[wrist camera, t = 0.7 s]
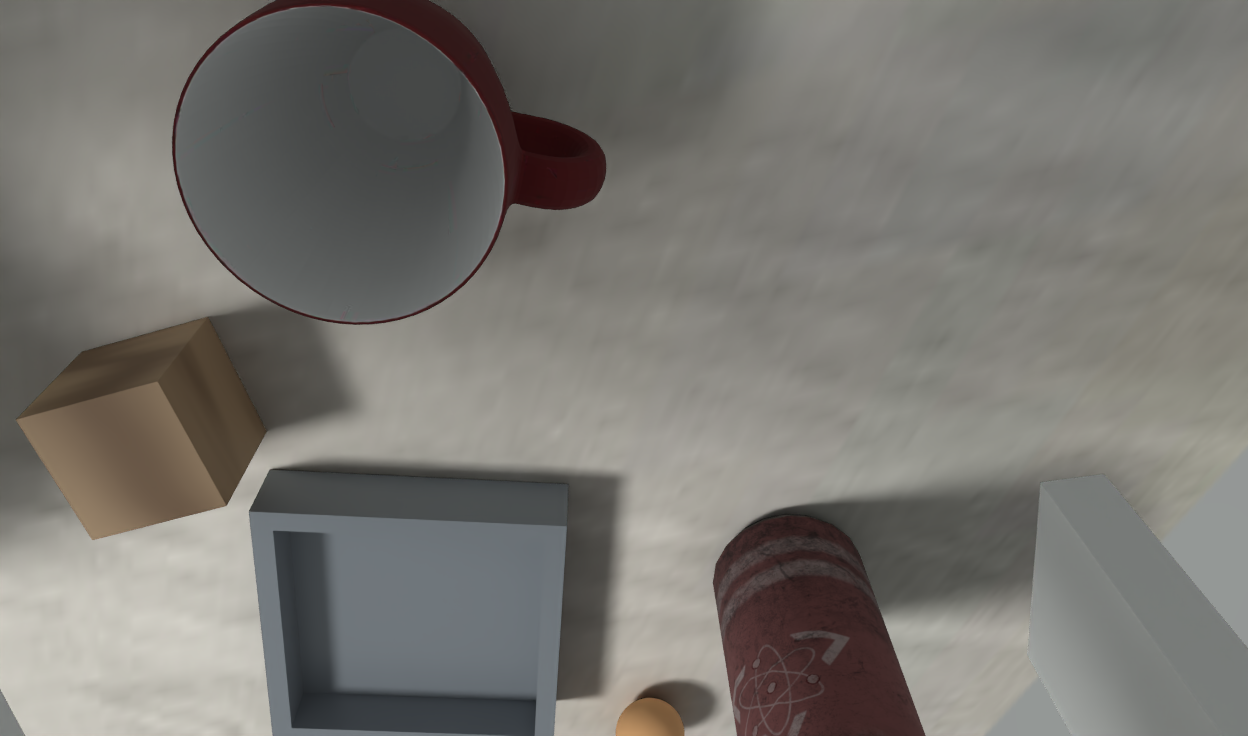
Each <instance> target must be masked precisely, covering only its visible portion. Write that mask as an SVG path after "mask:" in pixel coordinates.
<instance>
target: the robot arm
mask: <svg viewBox="0 0 1248 736" xmlns="http://www.w3.org/2000/svg"><path fill="white" fill-rule="evenodd" d="M1027 655H1028V657H1029V659H1030V661H1031V663H1032V665H1033V666H1034V668H1035V670H1036V672H1037V674H1038V675H1039V677H1040V679H1041V681H1042V682H1043V684H1044V686H1045V688H1046V690H1047V691H1048V693H1049V695H1050V697H1051V699H1052V701H1053V702H1054V704H1055V706H1056V708H1057V710H1058V711H1059V713H1060V715H1061V717H1062V719H1063V720H1064V722H1065V724H1066V726H1067V728H1068V729H1069V731H1070V733H1071V735H1072V736H1248V648H1247V646H1246V645H1245V644H1244V643H1243V642H1242V640H1241V639H1240V638H1239V637H1238V635H1237V634H1236V633H1235V632H1234V631H1233V630H1232V628H1231V627H1230V626H1229V625H1228V623H1227V622H1226V621H1225V620H1224V619H1223V617H1222V616H1221V615H1220V614H1219V613H1218V611H1217V610H1216V609H1215V608H1214V606H1213V605H1212V604H1211V603H1210V602H1209V600H1208V599H1207V598H1206V597H1205V596H1204V594H1203V593H1202V592H1201V591H1200V590H1199V588H1198V587H1197V586H1196V585H1195V583H1194V582H1193V581H1192V580H1191V579H1190V577H1189V576H1188V575H1187V574H1186V572H1185V571H1184V570H1183V569H1182V568H1181V567H1180V565H1179V564H1178V563H1177V562H1176V561H1175V559H1174V558H1173V557H1172V556H1171V554H1170V553H1169V552H1168V551H1167V550H1166V548H1165V547H1164V546H1163V545H1162V543H1161V542H1160V541H1159V540H1158V539H1157V537H1156V536H1155V535H1154V534H1153V533H1152V531H1151V530H1150V529H1149V528H1148V526H1147V525H1146V524H1145V523H1144V522H1143V520H1142V519H1141V518H1140V517H1139V516H1138V514H1137V513H1136V512H1135V511H1134V510H1133V508H1132V507H1131V506H1130V505H1129V503H1128V502H1127V501H1126V500H1125V499H1124V497H1123V496H1122V495H1121V494H1120V493H1119V491H1118V490H1117V489H1116V488H1115V486H1114V485H1113V484H1112V483H1111V482H1110V480H1109V479H1108V478H1107V477H1106V476H1105V474H1101V475H1093V476H1085V477H1077V478H1070V479H1062V480H1054V481H1046V482H1041V483H1040V496H1039V509H1038V522H1037V535H1036V548H1035V561H1034V574H1033V587H1032V600H1031V613H1030V626H1029V639H1028V652H1027ZM0 736H25V734H24V733H23V731H22V729H21V727H20V725H19V723H18V721H17V720H16V718H15V716H14V714H13V712H12V710H11V708H10V707H9V705H8V703H7V701H6V699H5V697H4V695H3V694H2V692H1V690H0Z"/></svg>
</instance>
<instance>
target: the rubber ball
mask: <svg viewBox="0 0 1248 736" xmlns="http://www.w3.org/2000/svg"><path fill="white" fill-rule="evenodd" d="M616 736H684V726H683V723H682V720H681V718H680V716H679V714H678V713H677V711H676V710H675V709H674V708H673V707H672V706H671V705H670V704H668V703H667V702H665V701H663V700H660V699H656V698H644V699H640V700H637V701H635V702H633V703H631V704H630V705H629V706H628V707H627V708H626V709H625V710H624V711H623V712H622V714H621V716H620V717H619V720H618V722H617V727H616Z"/></svg>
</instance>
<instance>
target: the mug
mask: <svg viewBox="0 0 1248 736" xmlns="http://www.w3.org/2000/svg"><path fill="white" fill-rule="evenodd" d="M172 155H173V164H174V171H175V176H176V181H177V185H178V189H179V192H180V195H181V198H182V201H183V204H184V206H185V208H186V211H187V213H188V215H189V217H190V219H191V221H192V223H193V225H194V227H195V229H196V231H197V232H198V234H199V235H200V237H201V238H202V240H203V241H204V243H205V244H206V246H207V247H208V248H209V249H210V251H211V252H212V253H213V254H214V256H215V257H216V258H217V259H218V260H219V261H220V262H221V263H222V265H223V266H224V267H225V268H226V269H227V270H228V271H229V272H231V273H232V274H233V275H234V276H235V277H236V278H237V279H238V280H240V281H241V282H242V283H243V284H245V285H246V286H247V287H249V288H250V289H251V290H253V291H254V292H256V293H257V294H259V295H261V296H262V297H264V298H265V299H267V300H269V301H271V302H273V303H275V304H277V305H278V306H280V307H283V308H285V309H287V310H290V311H292V312H294V313H297V314H300V315H303V316H306V317H309V318H314V319H318V320H322V321H327V322H333V323H340V324H354V325H360V324H377V323H386V322H391V321H396V320H400V319H404V318H407V317H410V316H414V315H416V314H419V313H421V312H423V311H426V310H428V309H430V308H432V307H434V306H436V305H437V304H439V303H441V302H442V301H444V300H445V299H447V298H448V297H450V296H451V295H453V294H454V293H455V292H456V291H458V290H459V289H460V288H461V287H462V286H464V285H465V284H466V283H467V281H468V280H469V279H470V278H471V277H472V276H473V275H474V274H475V273H476V272H477V270H478V269H479V268H480V266H481V265H482V264H483V262H484V261H485V259H486V258H487V256H488V255H489V253H490V251H491V250H492V248H493V246H494V244H495V242H496V240H497V237H498V235H499V232H500V229H501V227H502V224H503V221H504V218H505V215H506V212H507V210H508V208H509V206H510V205H511V204H515V203H516V204H520V205H525V206H529V207H535V208H541V209H551V210H564V209H571V208H576V207H579V206H582V205H584V204H586V203H588V202H590V201H591V200H593V199H594V198H595V197H596V195H597V194H598V193H599V191H600V189H601V188H602V185H603V182H604V180H605V175H606V159H605V154H604V152H603V150H602V149H601V147H600V146H599V144H598V143H597V142H596V141H595V140H594V139H592V138H591V137H590V136H588V135H587V134H585V133H583V132H581V131H579V130H577V129H575V128H573V127H570V126H568V125H565V124H562V123H559V122H556V121H552V120H549V119H545V118H540V117H536V116H531V115H526V114H522V113H517V112H512V111H511V110H510V107H509V103H508V101H507V98H506V95H505V92H504V90H503V87H502V85H501V83H500V80H499V78H498V76H497V74H496V72H495V70H494V68H493V66H492V64H491V62H490V60H489V58H488V56H487V54H486V52H485V51H484V49H483V47H482V46H481V45H480V43H479V42H478V40H477V39H476V38H475V36H474V35H473V34H472V33H471V32H470V31H469V30H468V28H467V27H465V26H464V25H463V24H462V23H461V22H460V21H459V20H458V19H457V18H455V17H454V16H453V15H452V14H450V13H449V12H447V11H446V10H444V9H443V8H441V7H440V6H438V5H436V4H434V3H432V2H430V1H428V0H276V1H274V2H272V3H270V4H268V5H266V6H265V7H263V8H261V9H259V10H258V11H256V12H255V13H253V14H251V15H250V16H248V17H246V18H245V19H243V20H242V21H241V22H239V23H238V24H236V25H235V26H234V27H232V28H231V29H230V30H228V31H227V32H226V33H225V34H223V35H222V36H221V37H220V38H219V39H218V40H217V41H216V42H215V43H214V44H213V45H212V46H211V47H210V48H209V49H208V50H207V51H206V52H205V54H204V55H203V56H202V58H201V59H200V60H199V61H198V63H197V64H196V66H195V67H194V69H193V71H192V72H191V74H190V76H189V77H188V80H187V82H186V84H185V86H184V88H183V90H182V93H181V96H180V99H179V102H178V105H177V109H176V114H175V119H174V125H173V136H172Z"/></svg>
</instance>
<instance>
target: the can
mask: <svg viewBox="0 0 1248 736" xmlns="http://www.w3.org/2000/svg"><path fill="white" fill-rule="evenodd" d="M713 586H714V592H715V598H716V605H717V611H718V617H719V624H720V630H721V636H722V643H723V649H724V655H725V661H726V668H727V674H728V680H729V687H730V693H731V699H732V706H733V712H734V718H735V725H736V731H737V736H925V733H924V730H923V728H922V725H921V722H920V719H919V717H918V714H917V711H916V708H915V706H914V703H913V700H912V697H911V695H910V692H909V689H908V686H907V684H906V681H905V678H904V675H903V673H902V670H901V667H900V664H899V662H898V659H897V656H896V653H895V651H894V648H893V645H892V642H891V640H890V637H889V634H888V631H887V629H886V626H885V623H884V621H883V618H882V615H881V612H880V610H879V607H878V604H877V601H876V599H875V596H874V593H873V590H872V588H871V585H870V582H869V579H868V577H867V574H866V571H865V568H864V566H863V563H862V560H861V557H860V555H859V553H858V551H857V549H856V548H855V546H854V544H853V543H852V541H851V540H850V538H849V537H848V536H847V535H845V534H844V533H843V532H841V531H840V530H839V529H838V528H836V527H835V526H834V525H832V524H829V523H826V522H823V521H820V520H817V519H815V518H812V517H809V516H803V515H780V516H775V517H770V518H765V519H763V520H761V521H759V522H757V523H755V524H753V525H751V526H749V527H747V528H745V529H744V530H743V531H742V532H741V533H740V534H738V535H737V536H736V537H735V538H734V539H733V540H732V541H731V542H730V543H729V544H728V545H727V546H726V547H725V549H724V551H723V552H722V554H721V556H720V558H719V559H718V561H717V563H716V567H715V573H714V579H713Z"/></svg>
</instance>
